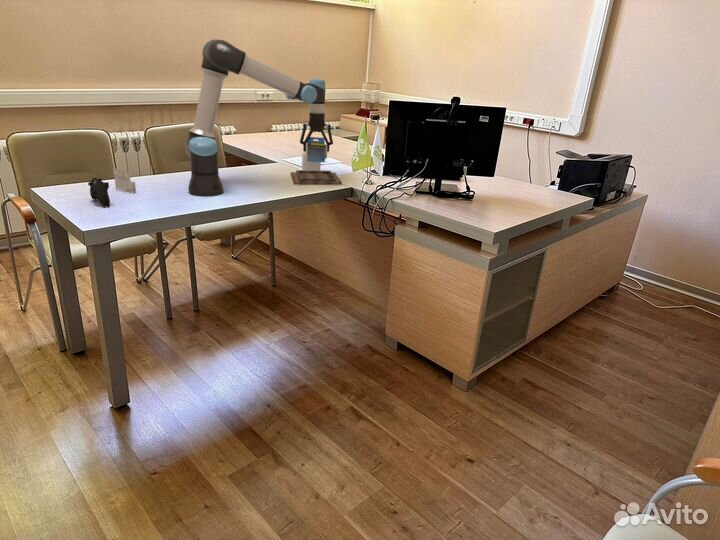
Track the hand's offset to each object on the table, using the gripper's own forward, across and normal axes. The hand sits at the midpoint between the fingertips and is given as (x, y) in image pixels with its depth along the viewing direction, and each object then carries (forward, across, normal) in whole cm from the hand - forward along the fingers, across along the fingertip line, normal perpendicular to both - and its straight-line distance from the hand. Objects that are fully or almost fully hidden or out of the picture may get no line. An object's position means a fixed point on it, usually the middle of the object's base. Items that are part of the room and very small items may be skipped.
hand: (316, 158), depth 258 cm
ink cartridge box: (+11, -87, -24) cm, 91 cm away
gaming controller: (+11, -93, -43) cm, 103 cm away
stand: (+11, 0, 0) cm, 11 cm away
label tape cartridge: (+2, 0, 0) cm, 2 cm away
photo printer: (+11, 0, +18) cm, 21 cm away
